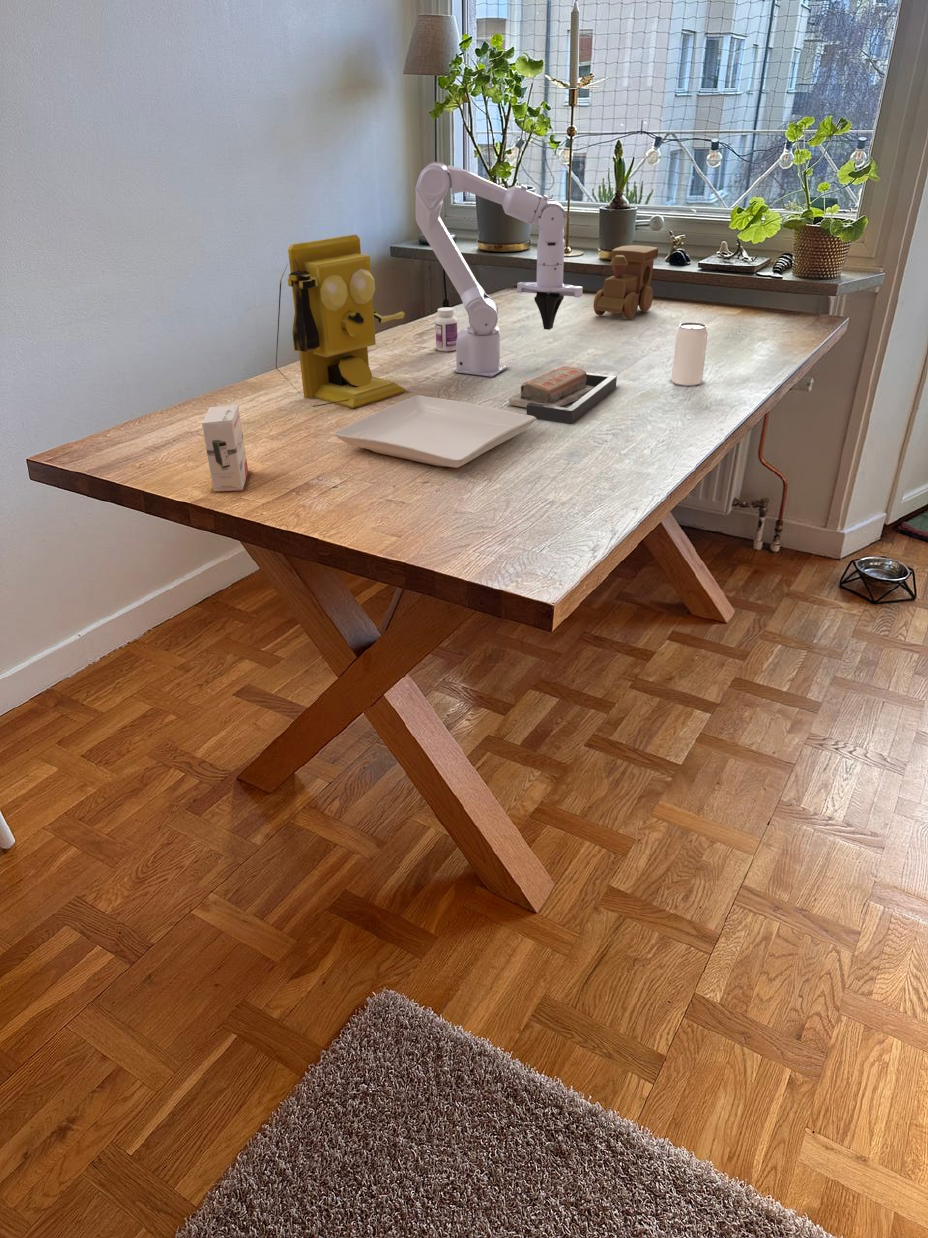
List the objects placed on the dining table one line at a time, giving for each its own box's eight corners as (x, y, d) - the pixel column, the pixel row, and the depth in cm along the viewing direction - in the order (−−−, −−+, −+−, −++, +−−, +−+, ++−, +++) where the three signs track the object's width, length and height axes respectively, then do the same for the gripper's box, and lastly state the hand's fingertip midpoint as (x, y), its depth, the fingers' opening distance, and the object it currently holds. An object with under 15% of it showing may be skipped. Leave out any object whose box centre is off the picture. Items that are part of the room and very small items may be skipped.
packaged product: (555, 362, 191) (596, 369, 186) (555, 384, 194) (595, 392, 188) (508, 382, 179) (550, 390, 174) (507, 405, 181) (549, 414, 176)
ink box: (220, 472, 152) (209, 404, 146) (249, 471, 153) (239, 403, 146) (212, 492, 145) (200, 421, 139) (242, 491, 145) (232, 420, 139)
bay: (526, 417, 175) (526, 404, 174) (574, 382, 195) (575, 370, 194) (571, 423, 171) (572, 410, 170) (616, 387, 191) (617, 375, 190)
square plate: (460, 480, 147) (460, 458, 145) (331, 452, 160) (329, 431, 158) (537, 433, 167) (538, 412, 165) (417, 410, 180) (416, 391, 178)
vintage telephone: (316, 420, 175) (300, 257, 160) (273, 406, 183) (253, 250, 168) (428, 385, 195) (423, 236, 179) (385, 373, 203) (376, 230, 188)
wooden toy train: (619, 304, 262) (624, 243, 253) (656, 308, 256) (662, 246, 248) (589, 318, 248) (592, 253, 239) (627, 322, 242) (632, 257, 234)
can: (703, 379, 195) (710, 322, 189) (700, 387, 190) (707, 329, 184) (673, 376, 197) (679, 320, 191) (669, 385, 192) (675, 327, 186)
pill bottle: (458, 346, 223) (458, 306, 218) (456, 351, 218) (455, 311, 214) (437, 346, 224) (436, 306, 219) (434, 351, 219) (433, 311, 214)
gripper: (511, 264, 191) (510, 329, 198) (575, 268, 185) (572, 335, 192) (524, 258, 196) (523, 322, 203) (587, 263, 191) (583, 328, 198)
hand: (548, 328), depth 198 cm, fingers closed
